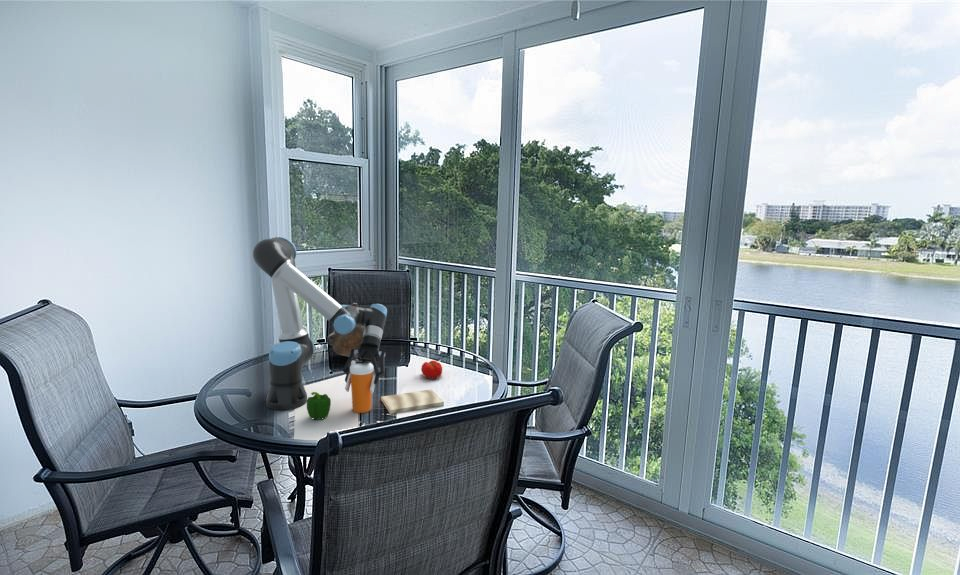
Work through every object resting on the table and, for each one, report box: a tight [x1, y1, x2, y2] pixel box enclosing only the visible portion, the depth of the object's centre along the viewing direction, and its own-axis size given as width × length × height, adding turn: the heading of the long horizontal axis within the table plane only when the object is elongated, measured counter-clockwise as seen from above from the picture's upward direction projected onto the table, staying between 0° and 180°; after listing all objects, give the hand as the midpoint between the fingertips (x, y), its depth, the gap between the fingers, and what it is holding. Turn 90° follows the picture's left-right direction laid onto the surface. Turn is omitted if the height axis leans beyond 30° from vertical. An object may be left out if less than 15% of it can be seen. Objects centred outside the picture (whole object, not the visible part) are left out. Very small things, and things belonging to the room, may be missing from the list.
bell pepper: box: [306, 391, 332, 420], centre depth 173 cm, size 8×8×10 cm
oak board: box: [380, 389, 445, 415], centre depth 190 cm, size 22×14×2 cm, turn 116°
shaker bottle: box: [350, 358, 375, 414], centre depth 180 cm, size 9×9×20 cm
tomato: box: [420, 360, 443, 379], centre depth 220 cm, size 10×11×6 cm
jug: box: [326, 302, 365, 360], centre depth 238 cm, size 24×21×30 cm
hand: (359, 391), depth 177 cm, fingers closed on shaker bottle, 9 cm apart
